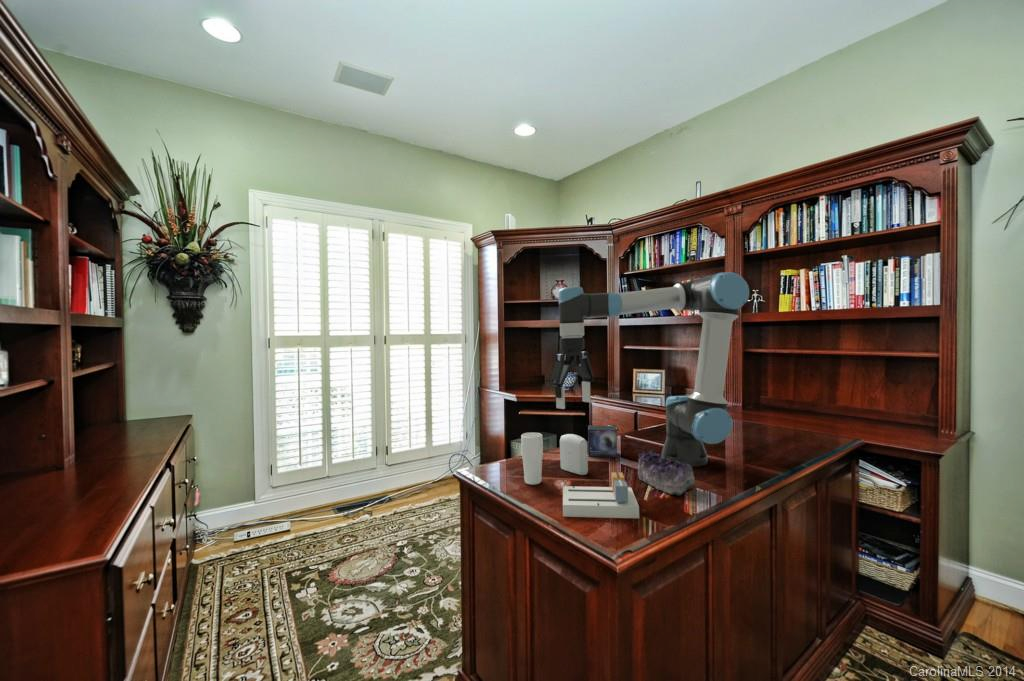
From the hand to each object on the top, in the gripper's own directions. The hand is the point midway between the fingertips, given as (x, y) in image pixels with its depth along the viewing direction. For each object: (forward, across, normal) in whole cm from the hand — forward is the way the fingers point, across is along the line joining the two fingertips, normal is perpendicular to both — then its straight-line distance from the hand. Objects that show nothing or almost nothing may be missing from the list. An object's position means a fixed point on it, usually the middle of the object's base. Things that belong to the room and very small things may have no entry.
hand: (574, 405), depth 134 cm
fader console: (+24, +12, +16) cm, 31 cm away
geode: (+25, -14, +21) cm, 36 cm away
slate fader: (+20, +11, +22) cm, 32 cm away
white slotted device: (+24, -7, -6) cm, 26 cm away
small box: (+24, -29, -9) cm, 39 cm away
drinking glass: (+24, +9, -10) cm, 28 cm away
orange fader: (+21, +6, +18) cm, 28 cm away
